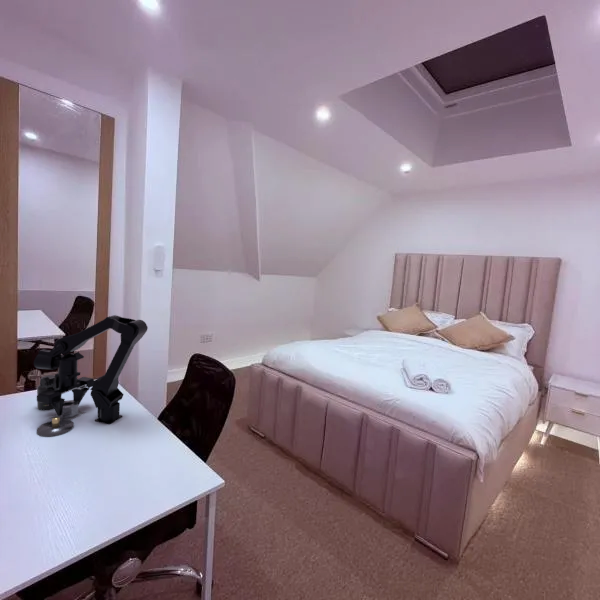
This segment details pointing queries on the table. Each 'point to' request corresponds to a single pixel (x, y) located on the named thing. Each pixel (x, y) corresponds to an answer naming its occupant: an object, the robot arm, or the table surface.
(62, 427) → the hub
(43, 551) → the table surface
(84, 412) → the stand pad
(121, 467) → the table surface
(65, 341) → the robot arm
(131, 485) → the table surface
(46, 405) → the supplement bottle
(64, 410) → the ring
